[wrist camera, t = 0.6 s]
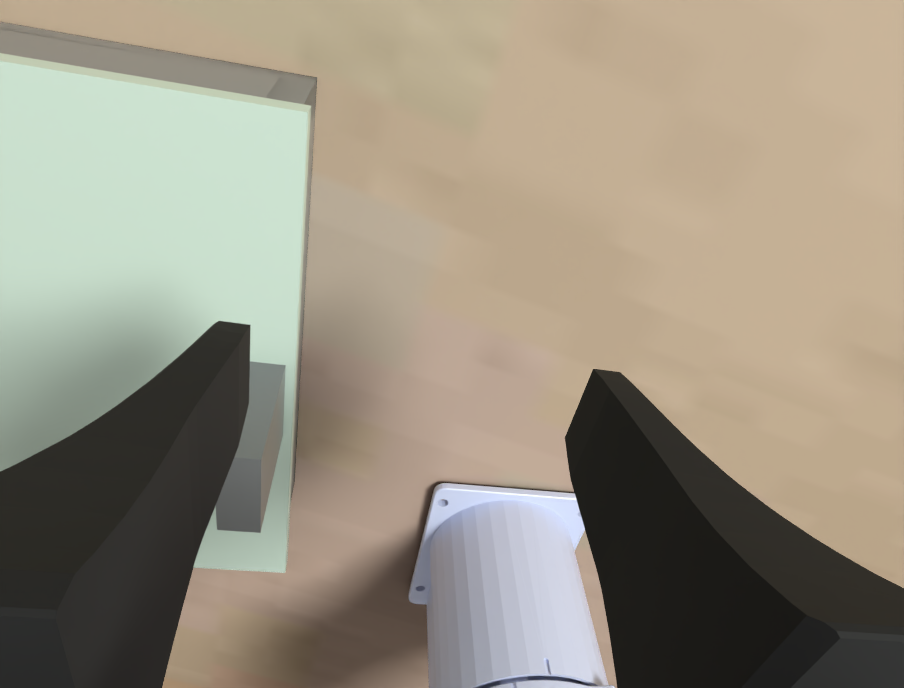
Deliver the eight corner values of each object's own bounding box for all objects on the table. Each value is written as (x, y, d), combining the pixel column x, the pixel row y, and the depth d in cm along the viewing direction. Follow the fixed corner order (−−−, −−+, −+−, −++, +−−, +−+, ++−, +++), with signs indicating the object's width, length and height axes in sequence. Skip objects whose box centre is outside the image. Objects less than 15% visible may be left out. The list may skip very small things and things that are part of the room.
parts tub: (294, 481, 29) (280, 555, 26) (38, 461, 27) (-11, 537, 24) (317, 77, 19) (298, 115, 16) (-89, 6, 17) (-203, 32, 14)
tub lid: (289, 547, 27) (267, 671, 22) (-9, 529, 25) (-94, 659, 21) (313, 99, 16) (281, 172, 12) (-203, 10, 14) (-459, 60, 10)
